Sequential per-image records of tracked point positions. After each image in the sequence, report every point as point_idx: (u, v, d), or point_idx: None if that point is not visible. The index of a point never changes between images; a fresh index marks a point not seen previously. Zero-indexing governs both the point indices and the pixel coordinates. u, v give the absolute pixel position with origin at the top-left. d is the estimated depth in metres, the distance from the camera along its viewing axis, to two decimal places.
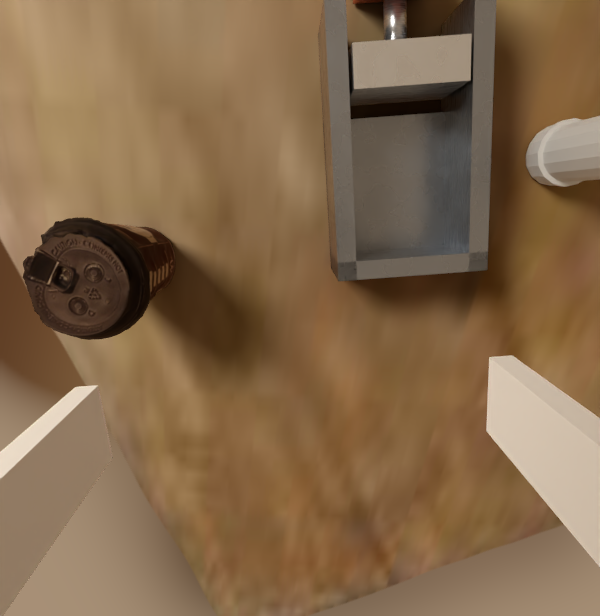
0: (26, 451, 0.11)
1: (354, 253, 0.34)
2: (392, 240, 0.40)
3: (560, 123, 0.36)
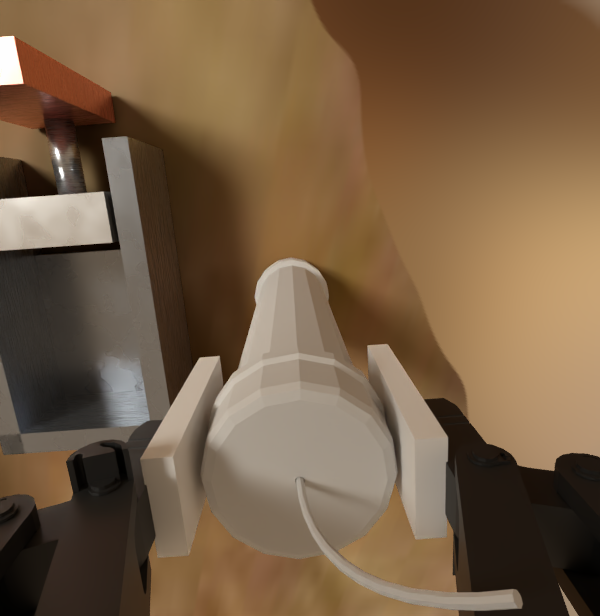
0: (195, 403, 0.12)
1: (16, 425, 0.30)
2: (114, 382, 0.35)
3: (276, 265, 0.32)
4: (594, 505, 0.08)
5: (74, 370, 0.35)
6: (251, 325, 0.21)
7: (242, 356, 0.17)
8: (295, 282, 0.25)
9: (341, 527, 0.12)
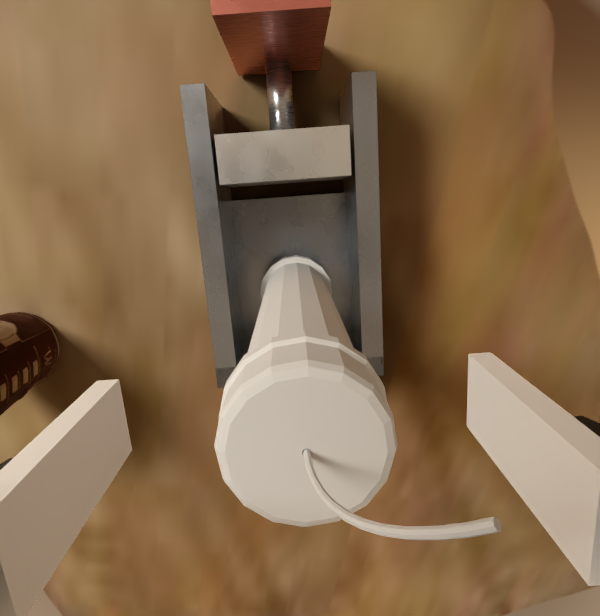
0: (56, 440, 0.11)
1: (233, 358, 0.31)
2: None
3: (281, 262, 0.33)
4: None
5: (257, 315, 0.36)
6: (258, 317, 0.22)
7: (251, 344, 0.18)
8: (300, 277, 0.26)
9: (344, 497, 0.12)
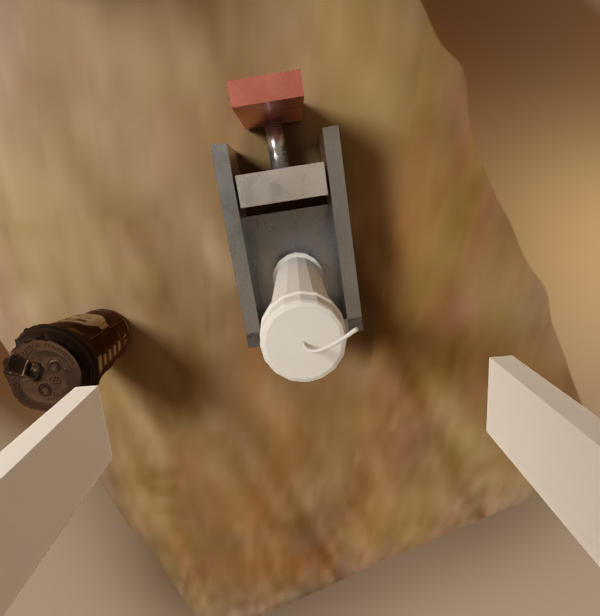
0: (26, 451, 0.11)
1: (258, 326, 0.44)
2: None
3: (285, 257, 0.46)
4: None
5: (271, 297, 0.50)
6: (274, 291, 0.36)
7: None
8: (299, 266, 0.40)
9: (323, 364, 0.26)
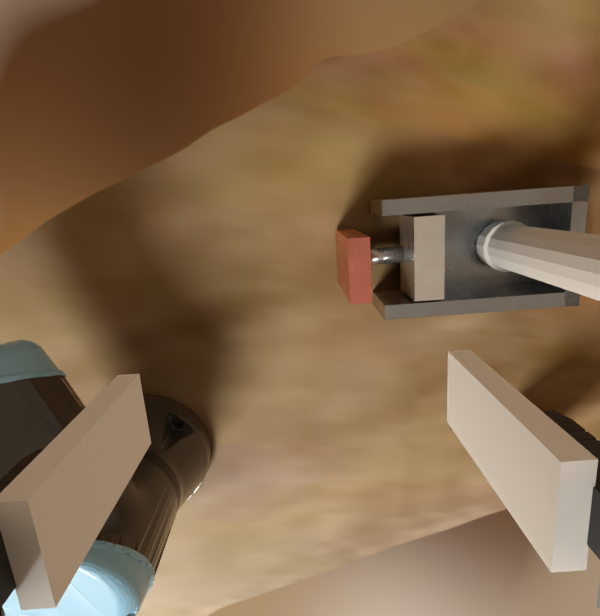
0: (85, 431, 0.11)
1: (559, 294, 0.44)
2: None
3: (485, 257, 0.47)
4: None
5: None
6: (556, 285, 0.36)
7: (590, 297, 0.32)
8: (518, 252, 0.40)
9: None
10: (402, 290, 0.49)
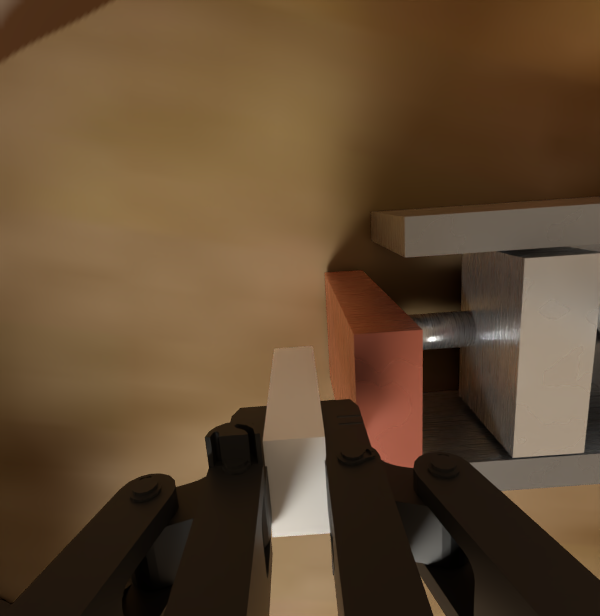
0: (291, 390, 0.13)
1: None
2: None
3: None
4: (448, 504, 0.08)
5: None
6: None
7: None
8: None
9: None
10: (464, 401, 0.23)
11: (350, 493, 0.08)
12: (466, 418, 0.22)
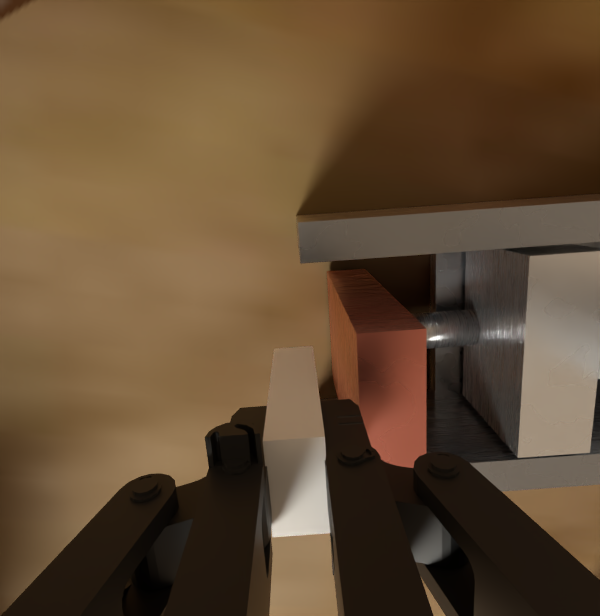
0: (291, 390, 0.13)
1: None
2: None
3: None
4: (448, 504, 0.08)
5: None
6: None
7: None
8: None
9: None
10: (468, 400, 0.23)
11: (350, 493, 0.08)
12: None
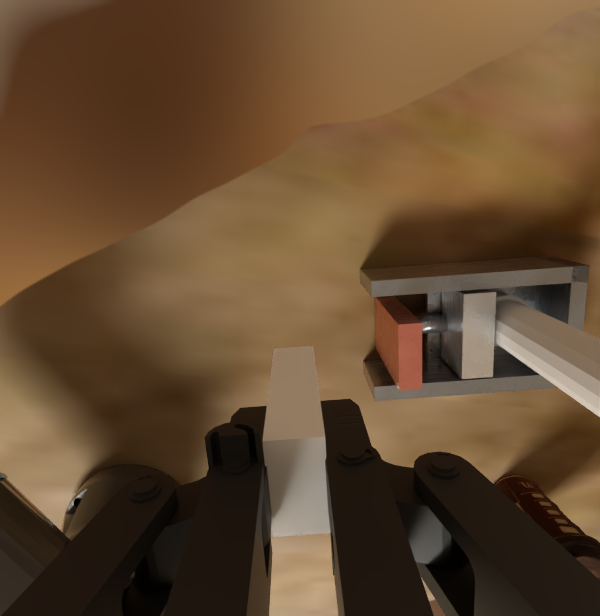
0: (291, 390, 0.13)
1: None
2: None
3: None
4: (448, 504, 0.08)
5: None
6: None
7: None
8: (514, 340, 0.38)
9: None
10: (443, 359, 0.47)
11: (350, 493, 0.08)
12: None
